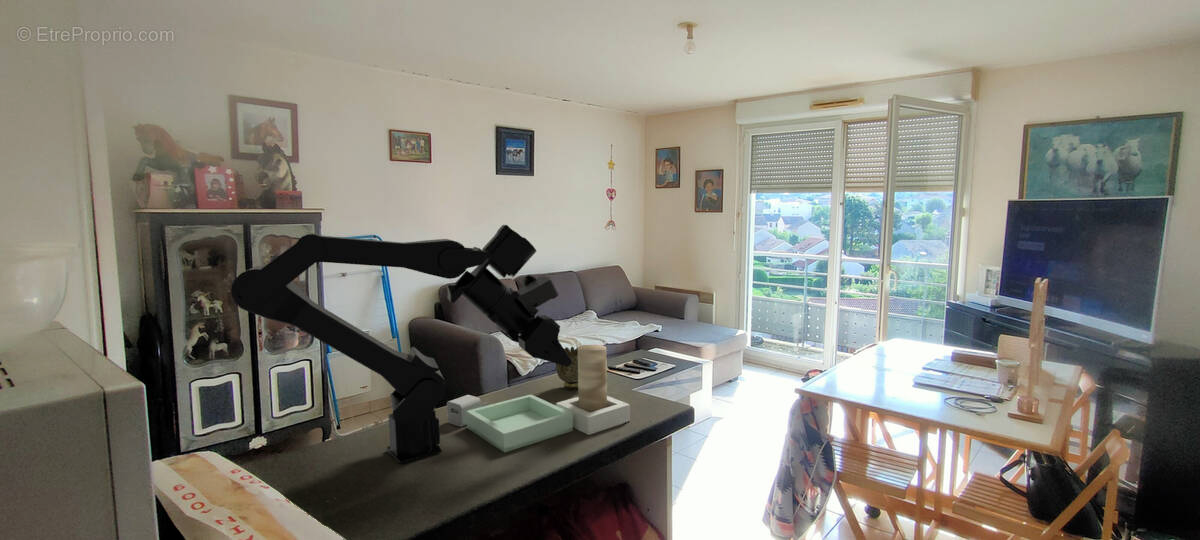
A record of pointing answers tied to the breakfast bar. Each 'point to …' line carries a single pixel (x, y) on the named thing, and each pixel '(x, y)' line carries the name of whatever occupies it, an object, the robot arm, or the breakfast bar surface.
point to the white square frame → (597, 415)
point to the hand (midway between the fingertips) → (560, 357)
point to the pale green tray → (519, 422)
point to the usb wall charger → (462, 409)
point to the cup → (569, 370)
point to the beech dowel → (592, 377)
